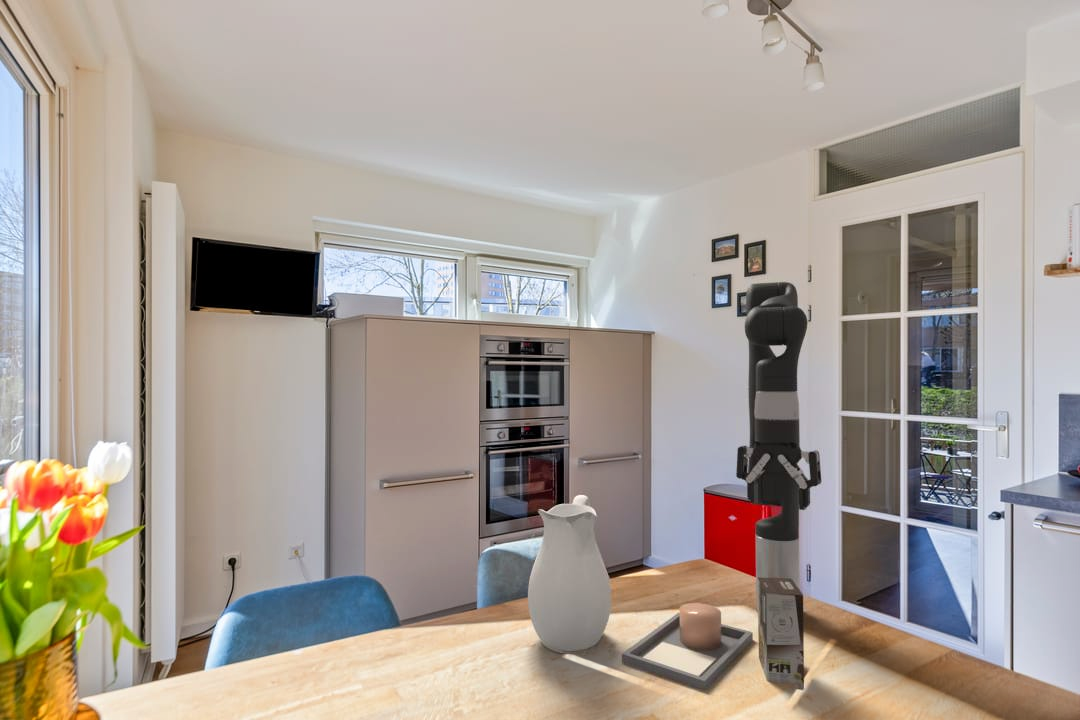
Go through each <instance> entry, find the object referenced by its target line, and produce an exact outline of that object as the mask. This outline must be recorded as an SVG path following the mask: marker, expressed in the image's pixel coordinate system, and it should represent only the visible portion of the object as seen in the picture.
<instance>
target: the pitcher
mask: <svg viewBox="0 0 1080 720" xmlns="http://www.w3.org/2000/svg"><path fill="white" fill-rule="evenodd" d="M590 503H591V502H590V498H589V497H588V496H587V495H583V494H578V495H576V496H574V498H573V500H572V503H561V504H557V505H554V506H553V507H552V508H550V509H549V510H547V511H545V510H544V509H541V508H540V509H538V510H537V512H538V514H539V516H540V517H541V519H542V522H543V527H544V530H543V536H542V541H541V543H540V546H539V549H538V552H537V554H536V558H535V561H534V563H533V566H532V569H531V571H530V572H531V573H530V577H529V581H528V587H527V588H528V590H527V606H528V612H529V618H530V621H531V624H532V626H533V629H534V631H535V633H536V635H537V636H538V639H539V640H540V642H541V643H542V644H543V646H544V647H545V648H547V649H548V650H550V651H552V652H555V653H559V654H564V655H565V654H567V655H569V654H572V653H571V652H575V651H583V650H587V649H590V648H592V647H594V646H596V645H597V644H598V642H599V641H600V639H601V638H602V636H603V634H604V632H605V630H606V628H607V625H608V622H609V619H610V615H611V609H612V607H611V606H612V591H611V590H612V589H611V583H610V578H609V575H608V571H607V568H606V565H605V562H604V559H603V557H602V554H601V551H600V549H599V546H598V544H597V541H596V535H595V524H596V520H597V519H598V517H597V516H598V515H597V513H596V510H595V509H594V508H593V507H591V506H590V505H591V504H590Z"/></svg>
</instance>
